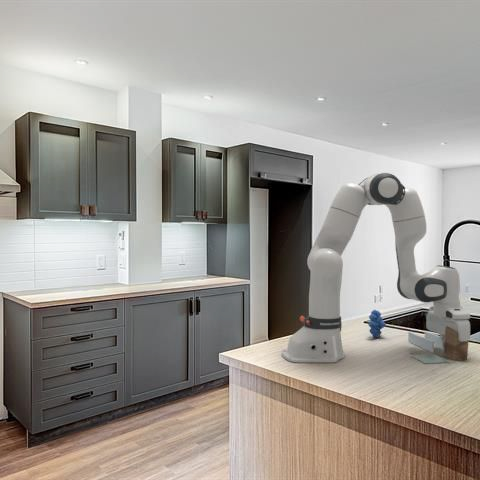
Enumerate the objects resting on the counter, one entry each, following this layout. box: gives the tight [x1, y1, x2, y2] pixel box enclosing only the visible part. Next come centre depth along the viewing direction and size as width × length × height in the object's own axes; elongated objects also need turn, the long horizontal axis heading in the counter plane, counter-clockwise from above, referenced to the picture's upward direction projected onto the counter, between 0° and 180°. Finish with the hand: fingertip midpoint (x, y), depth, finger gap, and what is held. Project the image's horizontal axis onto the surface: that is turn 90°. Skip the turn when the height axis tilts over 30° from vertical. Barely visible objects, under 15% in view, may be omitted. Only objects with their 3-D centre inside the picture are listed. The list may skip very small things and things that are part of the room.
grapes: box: [368, 309, 387, 339], centre depth 182 cm, size 12×7×12 cm, turn 143°
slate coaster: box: [410, 353, 451, 365], centre depth 151 cm, size 9×9×1 cm
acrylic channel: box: [407, 330, 444, 353], centre depth 169 cm, size 8×16×4 cm, turn 9°
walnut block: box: [443, 327, 470, 361], centre depth 153 cm, size 5×6×10 cm
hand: (446, 347), depth 158 cm, fingers closed
